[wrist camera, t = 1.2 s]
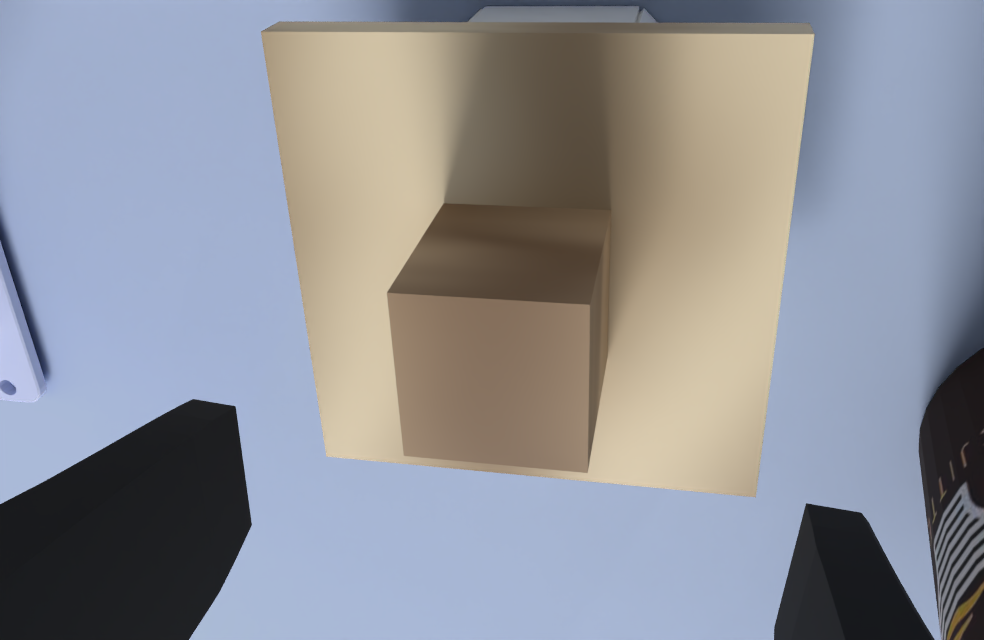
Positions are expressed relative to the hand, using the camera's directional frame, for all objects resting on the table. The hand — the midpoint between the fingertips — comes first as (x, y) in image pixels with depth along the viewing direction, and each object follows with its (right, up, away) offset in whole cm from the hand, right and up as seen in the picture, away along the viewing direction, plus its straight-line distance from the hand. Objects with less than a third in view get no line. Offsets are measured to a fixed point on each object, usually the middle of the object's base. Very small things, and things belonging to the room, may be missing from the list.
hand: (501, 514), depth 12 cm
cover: (+1, +4, +6) cm, 7 cm away
